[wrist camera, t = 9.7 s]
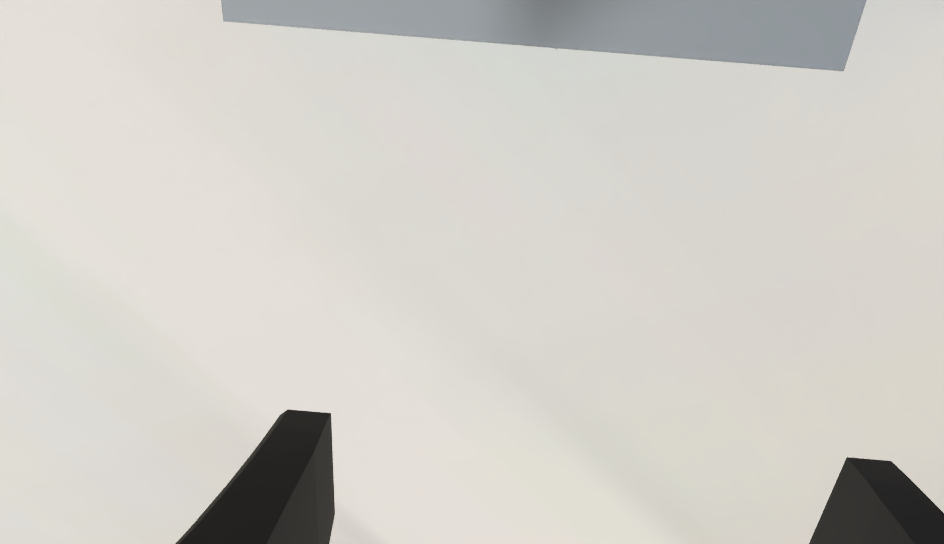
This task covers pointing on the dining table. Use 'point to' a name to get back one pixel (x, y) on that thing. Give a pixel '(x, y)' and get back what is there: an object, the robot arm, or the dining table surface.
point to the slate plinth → (596, 25)
